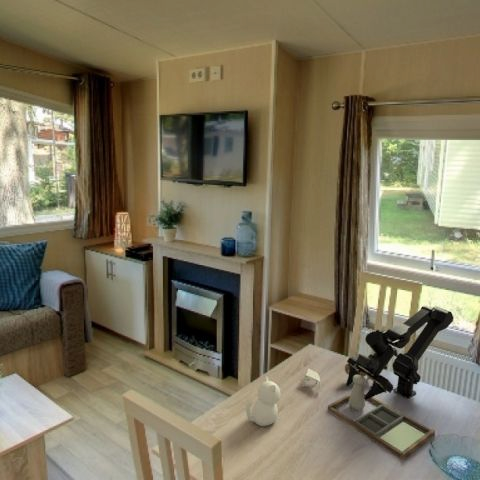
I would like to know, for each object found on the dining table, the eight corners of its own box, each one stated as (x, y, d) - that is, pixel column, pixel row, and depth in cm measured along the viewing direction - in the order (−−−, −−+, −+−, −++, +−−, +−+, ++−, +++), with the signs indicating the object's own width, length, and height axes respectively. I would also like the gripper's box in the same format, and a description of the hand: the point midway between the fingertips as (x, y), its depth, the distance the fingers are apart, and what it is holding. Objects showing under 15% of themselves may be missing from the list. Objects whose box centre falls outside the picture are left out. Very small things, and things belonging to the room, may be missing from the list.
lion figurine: (345, 386, 161) (347, 366, 159) (341, 379, 166) (343, 359, 164) (380, 385, 162) (382, 365, 160) (375, 378, 167) (377, 359, 166)
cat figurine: (284, 425, 136) (287, 385, 134) (251, 433, 131) (253, 392, 129) (271, 410, 145) (274, 372, 142) (240, 417, 139) (242, 378, 137)
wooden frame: (359, 393, 156) (359, 388, 156) (434, 435, 133) (435, 430, 133) (327, 410, 145) (327, 405, 145) (403, 460, 122) (404, 454, 121)
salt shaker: (365, 414, 143) (368, 382, 141) (348, 412, 144) (351, 379, 142) (363, 405, 149) (366, 373, 146) (347, 402, 150) (350, 371, 147)
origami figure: (294, 382, 163) (295, 371, 162) (310, 377, 167) (311, 366, 166) (314, 397, 153) (315, 385, 152) (330, 391, 157) (331, 380, 156)
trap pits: (381, 407, 148) (382, 404, 147) (403, 420, 141) (403, 416, 140) (353, 424, 138) (353, 420, 137) (375, 439, 131) (375, 435, 130)
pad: (402, 422, 139) (403, 421, 139) (426, 436, 133) (426, 435, 133) (379, 438, 131) (379, 437, 131) (403, 453, 125) (403, 452, 124)
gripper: (352, 336, 152) (327, 369, 149) (391, 358, 136) (364, 395, 133) (365, 352, 157) (342, 383, 154) (404, 375, 141) (378, 410, 138)
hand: (355, 392), depth 145 cm, fingers open, 9 cm apart
